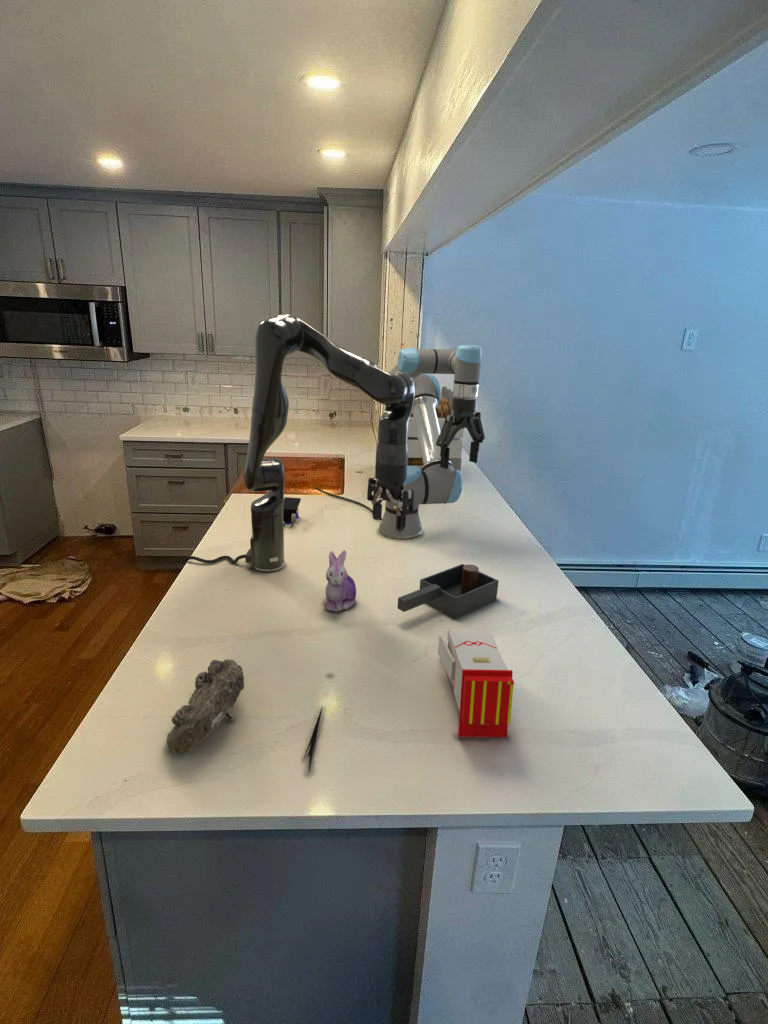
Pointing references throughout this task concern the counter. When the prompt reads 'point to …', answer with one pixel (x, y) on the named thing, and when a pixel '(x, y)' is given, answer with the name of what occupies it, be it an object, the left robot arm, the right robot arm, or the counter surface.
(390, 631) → the counter surface
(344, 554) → the figurine
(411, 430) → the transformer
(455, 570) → the bin
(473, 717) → the toy
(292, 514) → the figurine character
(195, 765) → the counter surface
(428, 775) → the counter surface
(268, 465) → the left robot arm
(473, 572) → the walnut peg
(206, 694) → the fossil
